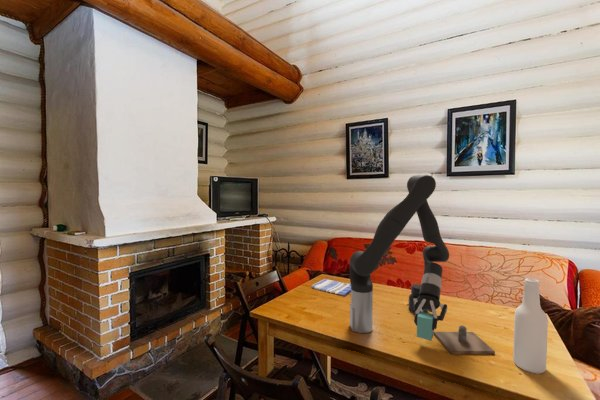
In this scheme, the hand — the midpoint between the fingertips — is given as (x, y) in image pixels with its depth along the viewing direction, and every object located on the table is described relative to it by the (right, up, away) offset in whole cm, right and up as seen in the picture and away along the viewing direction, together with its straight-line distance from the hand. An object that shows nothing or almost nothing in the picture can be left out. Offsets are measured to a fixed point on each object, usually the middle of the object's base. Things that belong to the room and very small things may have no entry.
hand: (424, 327), depth 108 cm
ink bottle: (+12, -7, +35) cm, 37 cm away
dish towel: (-26, -6, +66) cm, 71 cm away
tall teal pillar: (+1, -4, +2) cm, 5 cm away
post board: (+16, -8, +4) cm, 19 cm away
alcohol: (+31, -9, -11) cm, 34 cm away
